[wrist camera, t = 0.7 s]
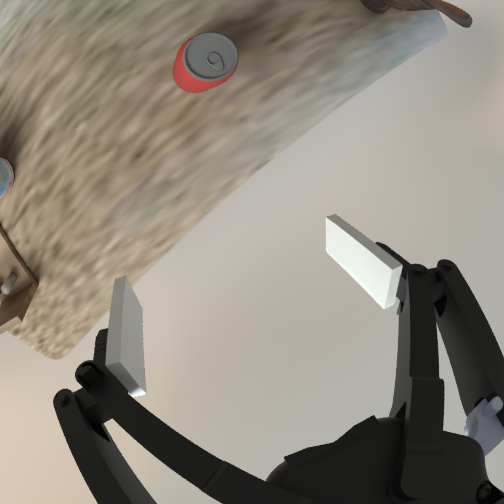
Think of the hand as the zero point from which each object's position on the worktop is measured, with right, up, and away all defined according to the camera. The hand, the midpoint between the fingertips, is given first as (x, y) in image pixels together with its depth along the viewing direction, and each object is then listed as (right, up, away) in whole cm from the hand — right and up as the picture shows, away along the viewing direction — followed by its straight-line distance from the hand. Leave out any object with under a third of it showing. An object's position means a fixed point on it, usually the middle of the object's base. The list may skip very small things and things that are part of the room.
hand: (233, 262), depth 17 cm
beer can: (-7, +25, +15) cm, 30 cm away
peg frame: (-44, -1, +16) cm, 47 cm away
